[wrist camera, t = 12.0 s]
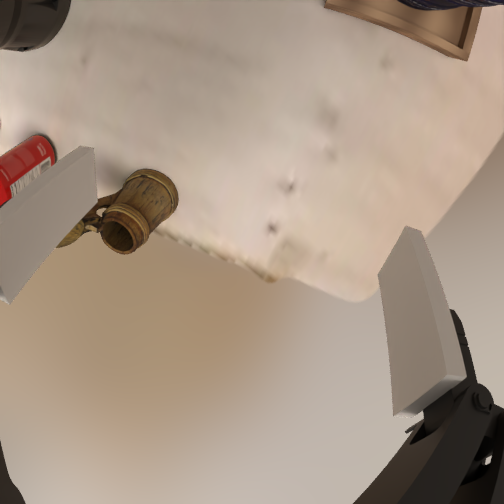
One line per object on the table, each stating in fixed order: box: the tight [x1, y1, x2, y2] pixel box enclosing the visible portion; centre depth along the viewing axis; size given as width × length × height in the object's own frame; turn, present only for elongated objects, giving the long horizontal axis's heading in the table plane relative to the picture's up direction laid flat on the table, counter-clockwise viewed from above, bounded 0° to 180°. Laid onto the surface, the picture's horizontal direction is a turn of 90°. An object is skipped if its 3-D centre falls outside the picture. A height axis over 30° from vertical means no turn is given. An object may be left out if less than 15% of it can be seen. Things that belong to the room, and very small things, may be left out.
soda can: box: [0, 135, 55, 206], centre depth 39 cm, size 8×8×15 cm
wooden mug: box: [56, 169, 178, 254], centre depth 40 cm, size 9×14×18 cm, turn 61°
